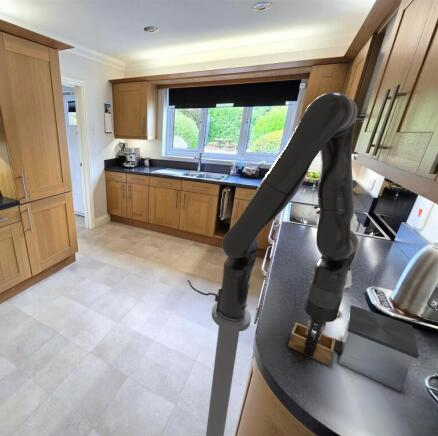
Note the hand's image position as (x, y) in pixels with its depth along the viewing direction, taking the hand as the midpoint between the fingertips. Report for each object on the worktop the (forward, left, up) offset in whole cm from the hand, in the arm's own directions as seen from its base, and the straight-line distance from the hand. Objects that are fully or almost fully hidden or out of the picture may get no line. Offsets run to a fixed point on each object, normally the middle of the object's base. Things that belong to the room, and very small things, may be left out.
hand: (310, 347), depth 71 cm
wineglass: (+2, +25, -1) cm, 25 cm away
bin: (+13, +6, -1) cm, 14 cm away
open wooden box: (0, 0, -1) cm, 1 cm away
